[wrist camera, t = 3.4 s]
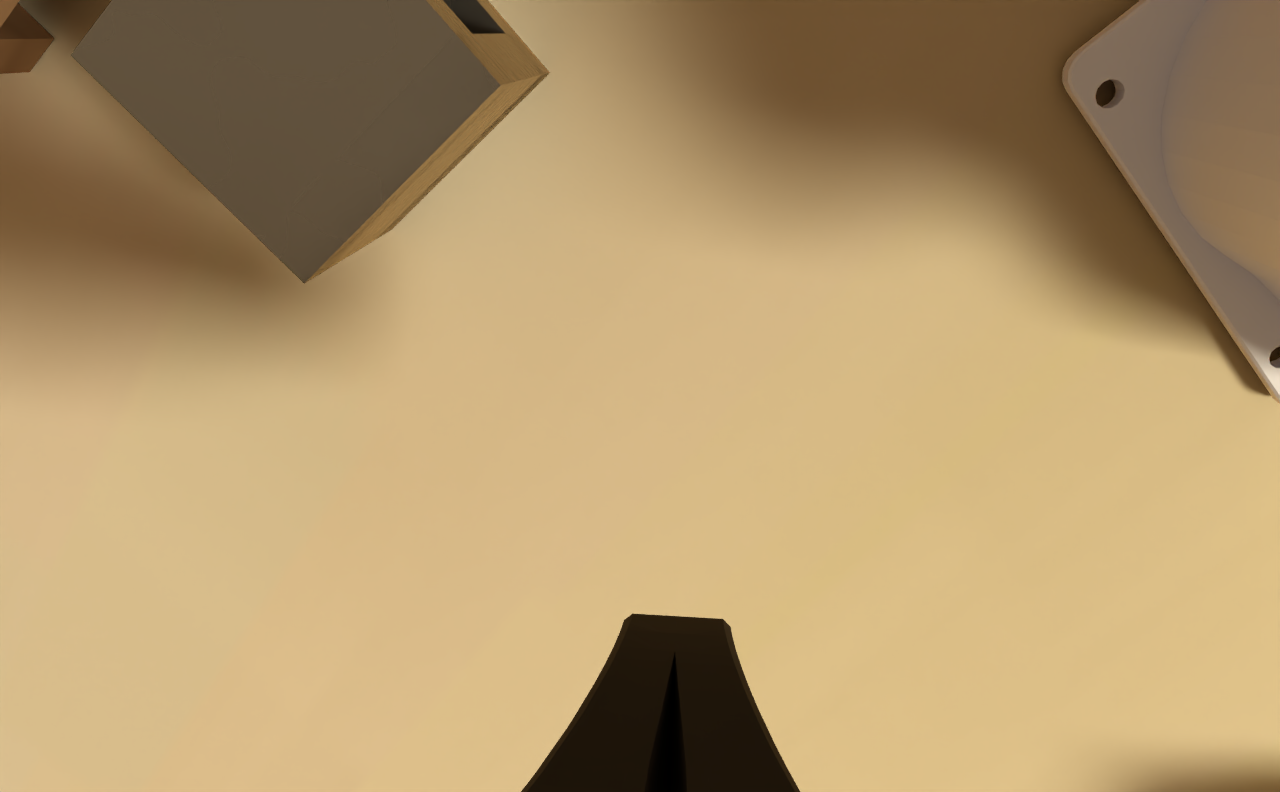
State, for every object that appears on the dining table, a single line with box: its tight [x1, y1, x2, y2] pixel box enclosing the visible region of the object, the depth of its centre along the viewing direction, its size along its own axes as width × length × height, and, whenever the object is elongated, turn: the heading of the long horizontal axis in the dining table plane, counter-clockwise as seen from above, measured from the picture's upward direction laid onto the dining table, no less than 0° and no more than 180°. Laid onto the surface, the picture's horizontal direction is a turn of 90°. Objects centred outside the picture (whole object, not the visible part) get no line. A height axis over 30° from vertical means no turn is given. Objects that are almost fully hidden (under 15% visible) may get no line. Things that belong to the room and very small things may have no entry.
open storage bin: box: [71, 0, 550, 283], centre depth 16 cm, size 5×5×4 cm
